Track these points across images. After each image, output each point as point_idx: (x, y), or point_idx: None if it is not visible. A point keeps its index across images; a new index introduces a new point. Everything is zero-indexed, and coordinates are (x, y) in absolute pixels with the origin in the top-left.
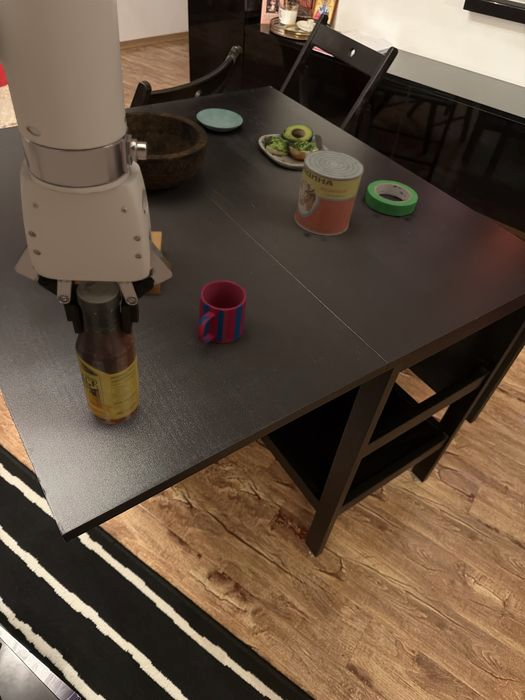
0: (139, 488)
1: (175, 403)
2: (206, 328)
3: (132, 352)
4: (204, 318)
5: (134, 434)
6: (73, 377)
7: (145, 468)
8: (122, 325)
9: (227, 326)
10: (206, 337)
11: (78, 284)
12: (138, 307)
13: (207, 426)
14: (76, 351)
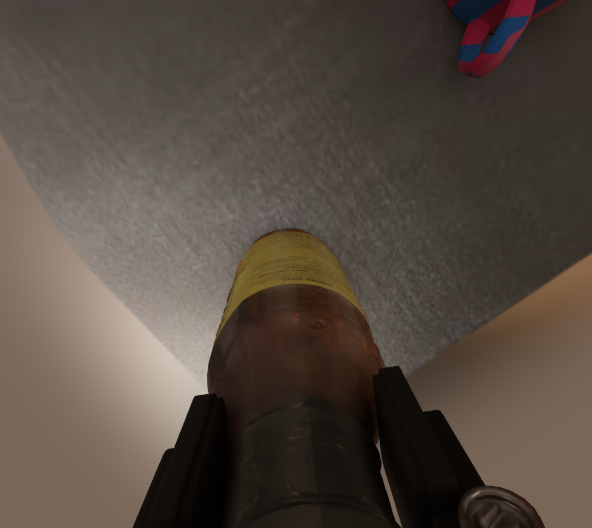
0: None
1: (399, 234)
2: (477, 7)
3: None
4: (510, 30)
5: None
6: (178, 195)
7: None
8: (372, 437)
9: (551, 8)
10: (472, 38)
11: (170, 523)
12: (450, 428)
13: (465, 279)
14: None
